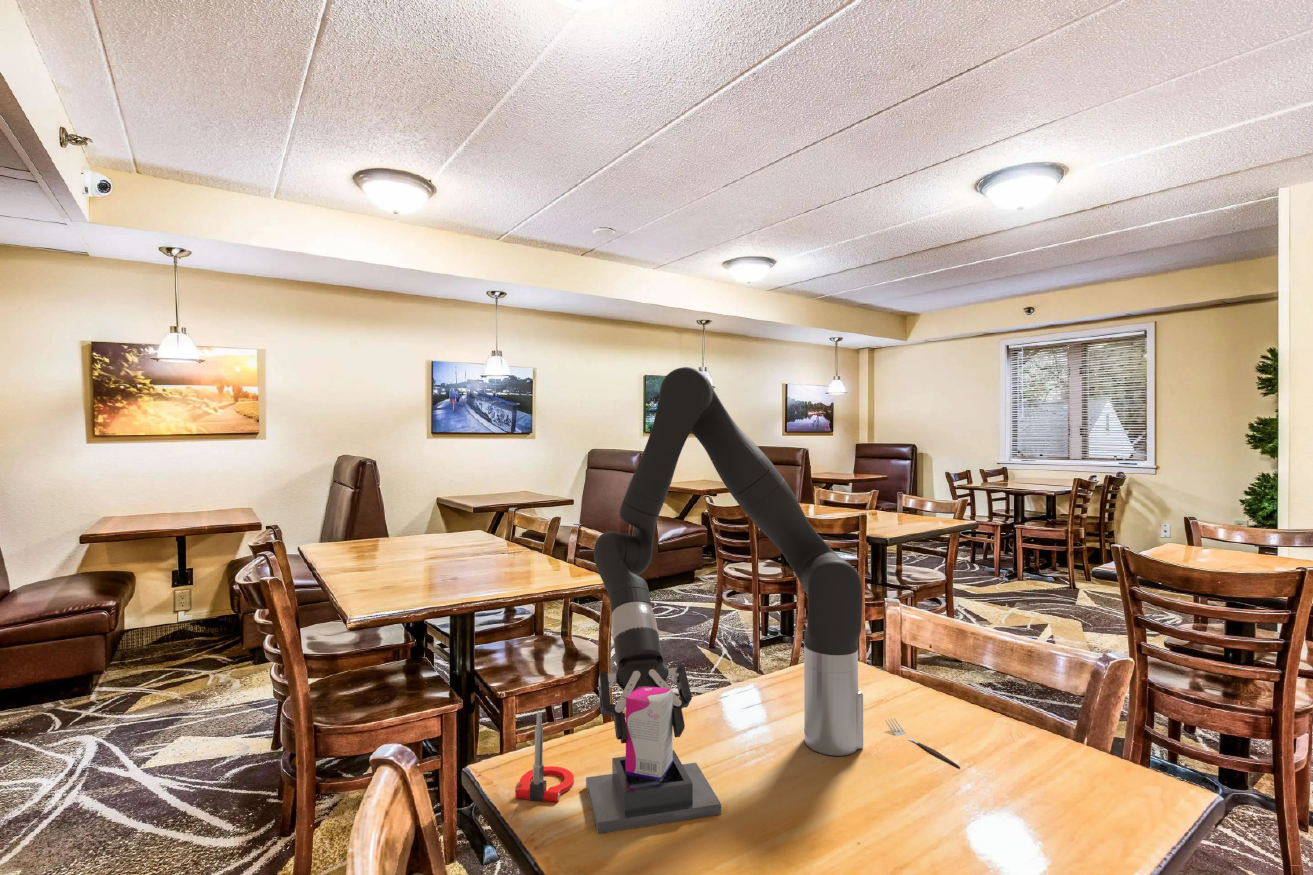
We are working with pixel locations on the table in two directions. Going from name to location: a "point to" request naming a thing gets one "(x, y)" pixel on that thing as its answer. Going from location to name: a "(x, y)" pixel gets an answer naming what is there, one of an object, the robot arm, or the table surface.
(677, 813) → the socket plate
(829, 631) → the robot arm
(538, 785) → the tow hook
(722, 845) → the table surface
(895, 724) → the fork
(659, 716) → the supplement box
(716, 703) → the table surface
